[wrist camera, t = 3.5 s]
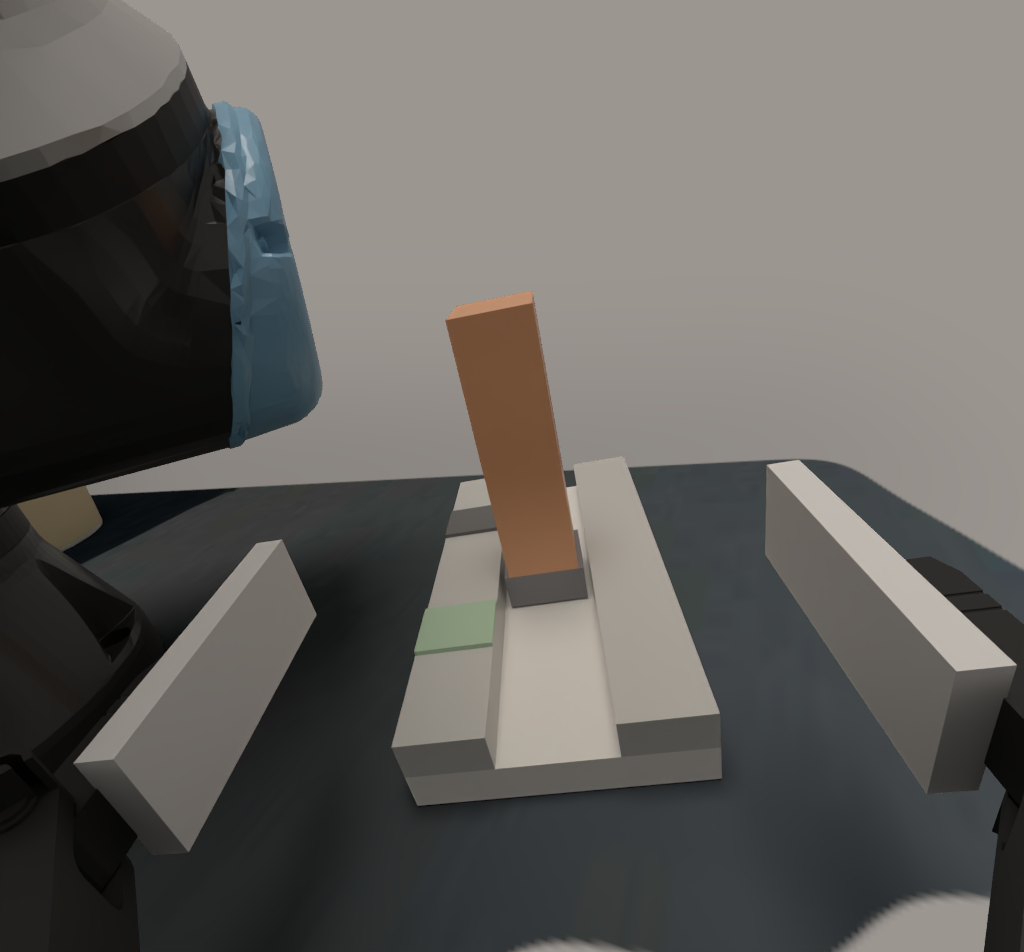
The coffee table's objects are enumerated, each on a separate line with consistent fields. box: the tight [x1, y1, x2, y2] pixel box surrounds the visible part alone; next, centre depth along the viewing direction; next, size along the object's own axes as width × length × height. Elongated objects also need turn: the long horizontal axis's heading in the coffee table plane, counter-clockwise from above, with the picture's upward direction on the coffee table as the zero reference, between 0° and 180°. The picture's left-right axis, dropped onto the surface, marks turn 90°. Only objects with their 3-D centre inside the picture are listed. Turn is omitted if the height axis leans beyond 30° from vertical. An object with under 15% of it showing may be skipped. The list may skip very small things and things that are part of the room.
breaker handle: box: [446, 291, 588, 607], centre depth 22 cm, size 3×3×13 cm
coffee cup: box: [17, 486, 102, 552], centre depth 42 cm, size 9×9×12 cm
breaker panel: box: [391, 456, 722, 806], centre depth 24 cm, size 18×10×3 cm, turn 178°
